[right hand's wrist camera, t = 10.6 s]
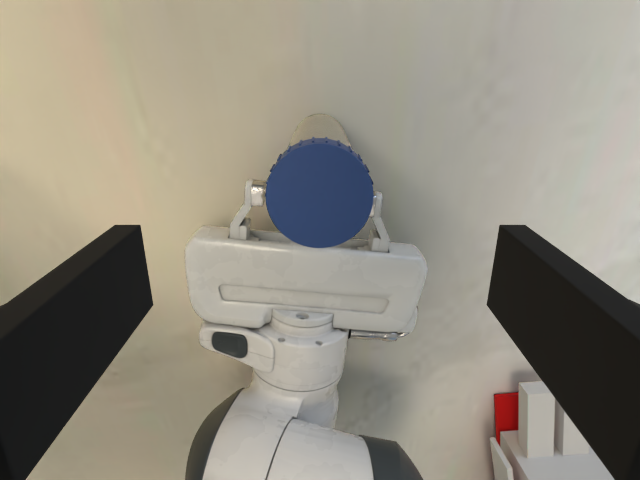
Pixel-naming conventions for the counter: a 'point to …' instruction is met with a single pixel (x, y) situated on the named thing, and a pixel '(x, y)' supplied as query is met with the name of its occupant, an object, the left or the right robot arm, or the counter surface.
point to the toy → (540, 439)
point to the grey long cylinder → (319, 129)
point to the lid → (319, 193)
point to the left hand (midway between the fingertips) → (314, 186)
